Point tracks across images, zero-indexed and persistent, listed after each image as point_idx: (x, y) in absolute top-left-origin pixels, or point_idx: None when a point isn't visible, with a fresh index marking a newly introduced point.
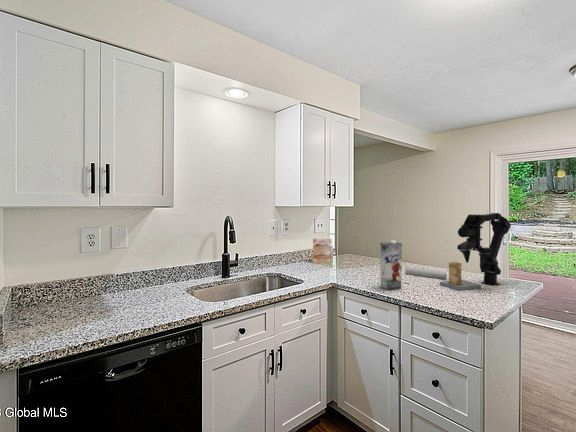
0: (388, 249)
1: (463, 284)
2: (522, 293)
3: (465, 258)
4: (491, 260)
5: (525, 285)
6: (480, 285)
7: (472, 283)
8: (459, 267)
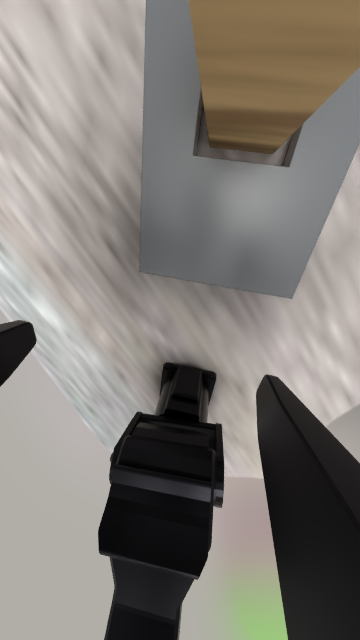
0: None
1: (196, 156)
2: (36, 336)
3: (315, 434)
4: (111, 515)
5: (119, 434)
6: (140, 267)
7: (183, 257)
8: None
